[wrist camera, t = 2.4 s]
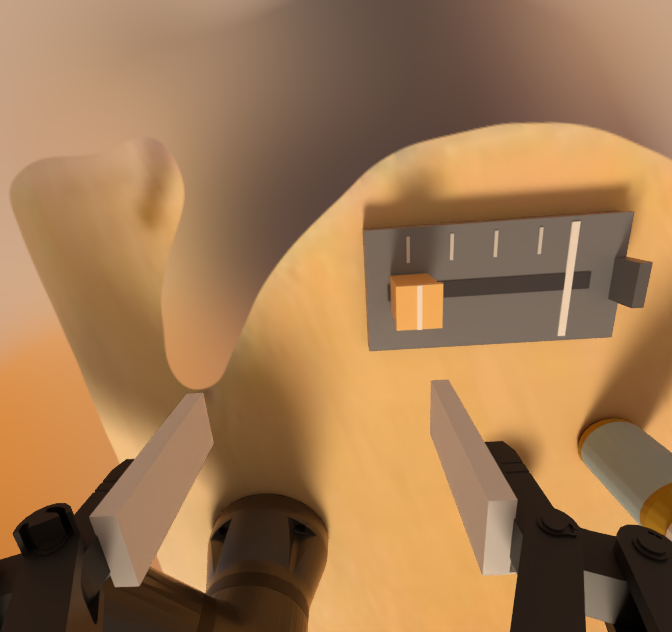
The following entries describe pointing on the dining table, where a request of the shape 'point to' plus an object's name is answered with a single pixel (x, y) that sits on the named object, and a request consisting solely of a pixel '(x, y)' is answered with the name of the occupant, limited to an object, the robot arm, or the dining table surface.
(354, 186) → the dining table surface
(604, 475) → the bottle
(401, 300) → the fader
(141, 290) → the dining table surface
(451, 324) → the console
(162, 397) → the dining table surface
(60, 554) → the robot arm
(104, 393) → the dining table surface
